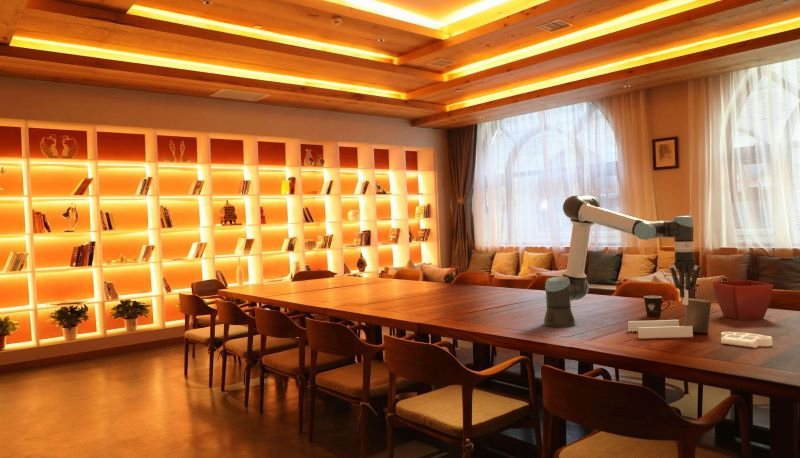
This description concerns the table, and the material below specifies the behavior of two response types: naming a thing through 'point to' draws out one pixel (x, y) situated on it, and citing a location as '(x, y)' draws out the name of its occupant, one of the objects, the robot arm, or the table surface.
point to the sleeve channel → (660, 329)
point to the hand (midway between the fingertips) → (685, 304)
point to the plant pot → (743, 298)
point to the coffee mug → (654, 305)
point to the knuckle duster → (745, 339)
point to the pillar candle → (697, 315)
